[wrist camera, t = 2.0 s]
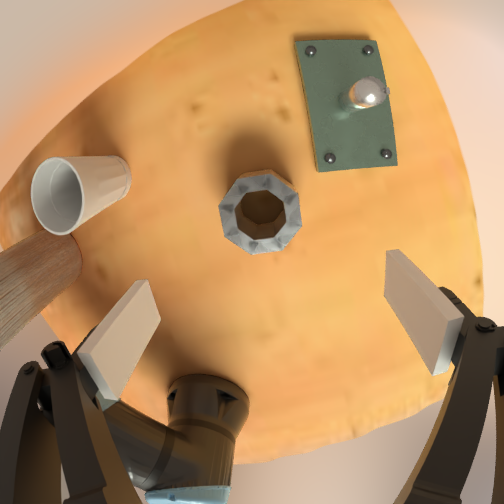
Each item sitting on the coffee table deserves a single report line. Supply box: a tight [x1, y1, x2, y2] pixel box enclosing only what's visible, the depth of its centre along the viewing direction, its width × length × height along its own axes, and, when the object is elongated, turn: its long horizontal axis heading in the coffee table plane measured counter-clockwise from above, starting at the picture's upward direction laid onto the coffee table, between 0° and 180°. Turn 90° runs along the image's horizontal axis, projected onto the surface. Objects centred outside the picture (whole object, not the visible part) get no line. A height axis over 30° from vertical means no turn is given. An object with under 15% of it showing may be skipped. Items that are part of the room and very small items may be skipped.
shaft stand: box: [294, 40, 398, 172], centre depth 25 cm, size 10×16×9 cm, turn 9°
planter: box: [0, 229, 82, 351], centre depth 28 cm, size 10×10×23 cm
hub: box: [219, 169, 302, 255], centre depth 32 cm, size 8×8×6 cm
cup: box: [31, 155, 132, 235], centre depth 28 cm, size 8×8×12 cm
